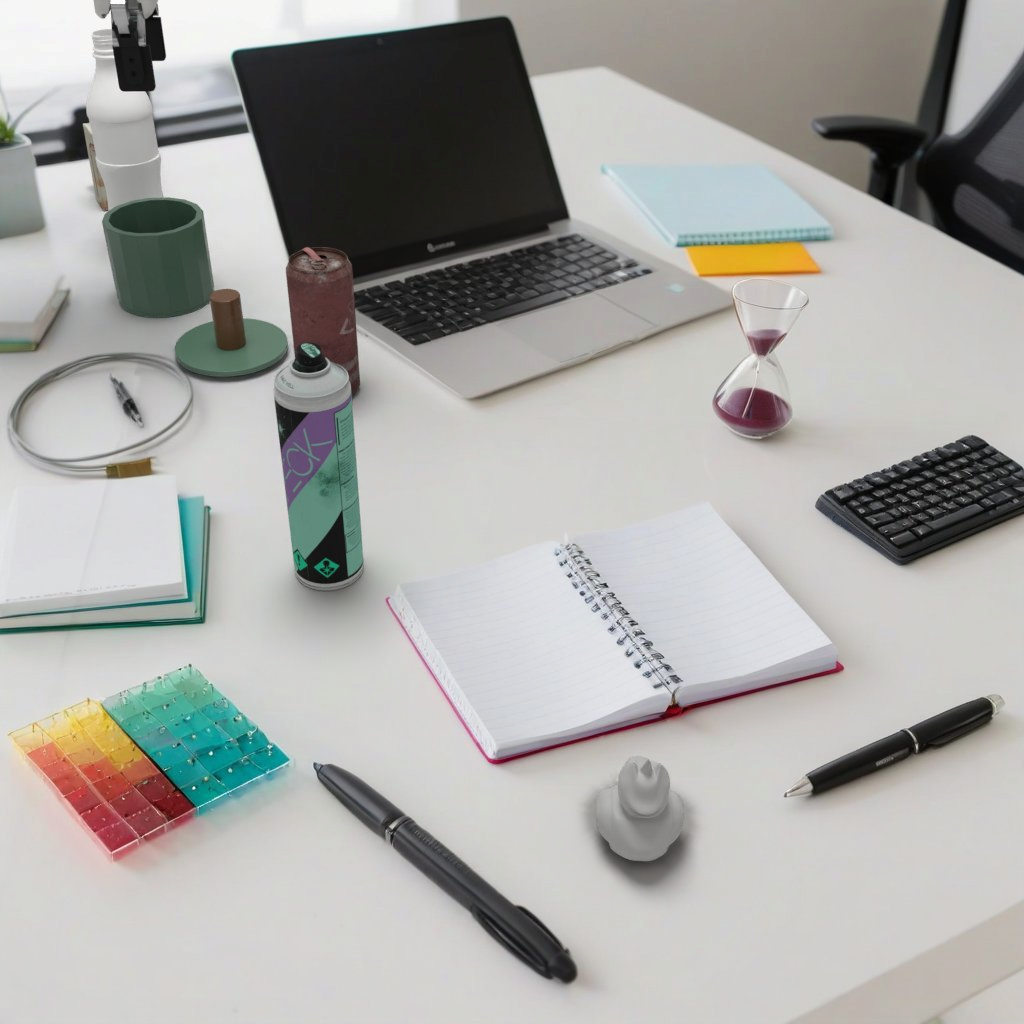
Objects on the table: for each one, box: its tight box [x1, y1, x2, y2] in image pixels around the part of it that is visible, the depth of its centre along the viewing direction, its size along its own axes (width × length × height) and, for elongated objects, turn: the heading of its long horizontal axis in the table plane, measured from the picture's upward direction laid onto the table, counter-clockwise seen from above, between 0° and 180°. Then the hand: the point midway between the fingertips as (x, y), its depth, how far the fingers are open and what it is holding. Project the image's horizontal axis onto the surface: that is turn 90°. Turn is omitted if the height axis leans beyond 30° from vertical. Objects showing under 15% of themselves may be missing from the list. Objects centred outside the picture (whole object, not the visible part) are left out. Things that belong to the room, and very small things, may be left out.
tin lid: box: [174, 288, 289, 377], centre depth 118 cm, size 11×11×7 cm
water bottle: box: [85, 28, 165, 212], centre depth 132 cm, size 7×7×25 cm
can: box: [285, 246, 361, 397], centre depth 110 cm, size 6×6×14 cm
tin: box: [101, 196, 215, 319], centre depth 127 cm, size 10×10×10 cm
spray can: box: [272, 343, 364, 592], centre depth 86 cm, size 6×6×20 cm
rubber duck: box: [594, 755, 685, 862], centre depth 70 cm, size 5×7×8 cm
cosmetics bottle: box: [82, 122, 108, 211], centre depth 148 cm, size 5×4×10 cm
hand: (144, 74), depth 110 cm, fingers open, 9 cm apart
